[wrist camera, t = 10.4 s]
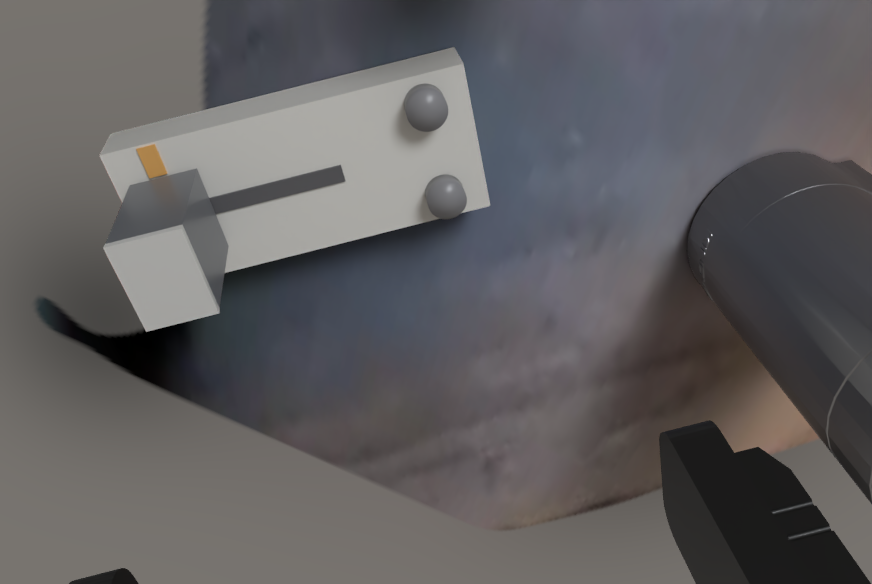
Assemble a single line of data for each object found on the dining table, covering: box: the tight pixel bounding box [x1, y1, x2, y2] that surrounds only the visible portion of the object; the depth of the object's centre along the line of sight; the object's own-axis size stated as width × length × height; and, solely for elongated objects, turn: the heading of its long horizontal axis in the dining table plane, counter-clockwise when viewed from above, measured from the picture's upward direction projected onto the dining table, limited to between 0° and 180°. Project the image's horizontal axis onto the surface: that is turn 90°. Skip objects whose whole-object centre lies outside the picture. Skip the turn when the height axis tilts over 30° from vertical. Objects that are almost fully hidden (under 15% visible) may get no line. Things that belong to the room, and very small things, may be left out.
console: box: [99, 47, 490, 273], centre depth 37 cm, size 16×7×4 cm, turn 102°
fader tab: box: [103, 168, 229, 332], centre depth 34 cm, size 3×4×6 cm
